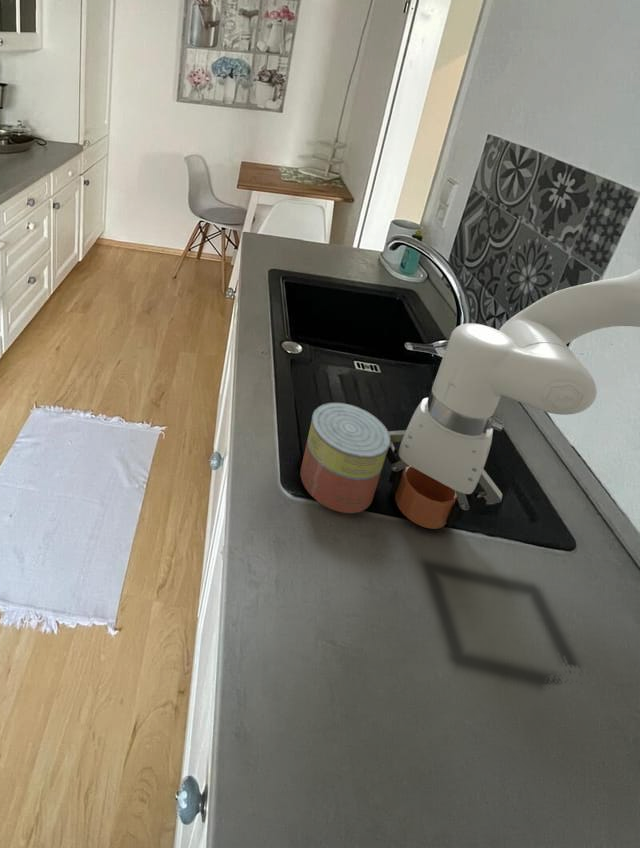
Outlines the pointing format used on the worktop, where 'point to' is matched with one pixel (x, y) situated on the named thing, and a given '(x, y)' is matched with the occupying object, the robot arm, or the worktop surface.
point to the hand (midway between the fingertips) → (422, 502)
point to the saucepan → (424, 499)
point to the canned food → (344, 457)
